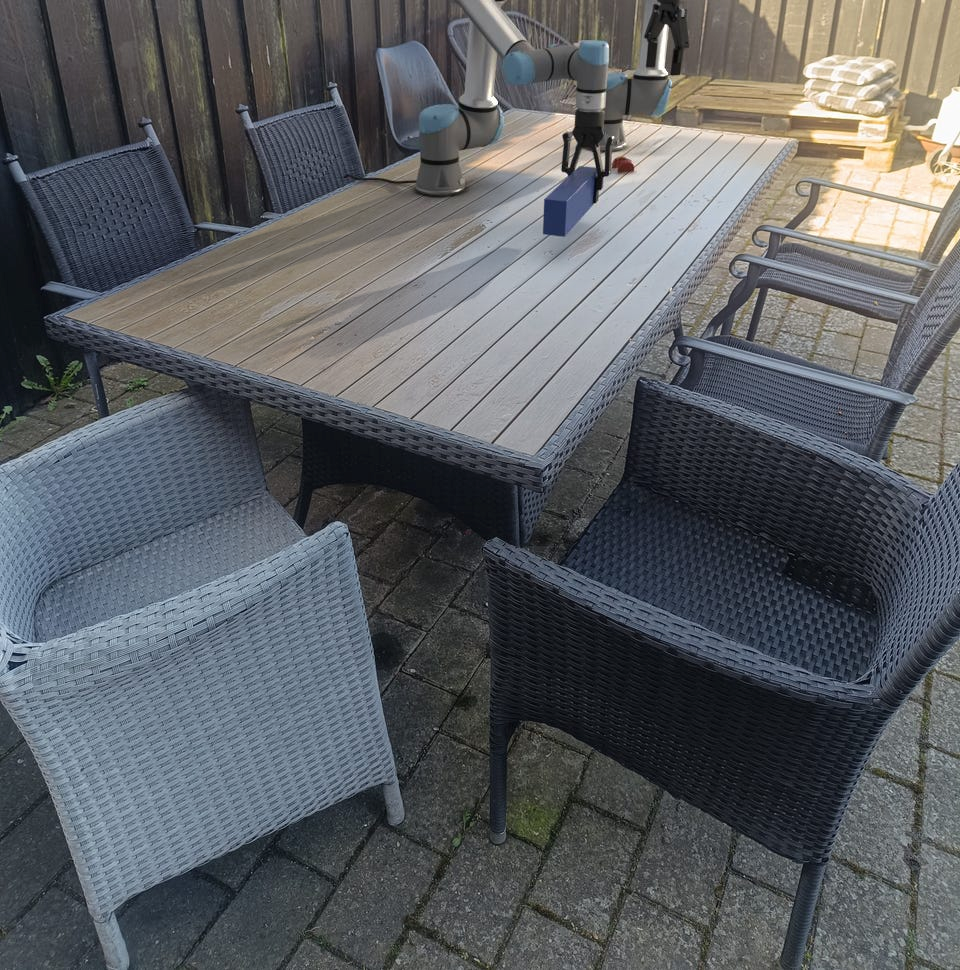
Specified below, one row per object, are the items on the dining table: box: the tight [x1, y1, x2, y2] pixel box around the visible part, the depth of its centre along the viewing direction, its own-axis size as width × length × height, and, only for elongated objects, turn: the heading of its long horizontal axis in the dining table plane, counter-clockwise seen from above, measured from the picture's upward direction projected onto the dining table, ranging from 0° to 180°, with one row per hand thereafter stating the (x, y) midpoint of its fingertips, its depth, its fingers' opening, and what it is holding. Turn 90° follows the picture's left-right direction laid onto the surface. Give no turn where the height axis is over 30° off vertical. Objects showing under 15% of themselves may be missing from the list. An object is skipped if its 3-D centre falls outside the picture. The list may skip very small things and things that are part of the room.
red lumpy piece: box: [611, 156, 635, 174], centre depth 274 cm, size 6×4×8 cm
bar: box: [542, 165, 597, 238], centre depth 217 cm, size 32×6×9 cm, turn 159°
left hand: (584, 200), depth 229 cm, fingers closed on bar, 6 cm apart
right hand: (662, 71), depth 243 cm, fingers open, 13 cm apart
